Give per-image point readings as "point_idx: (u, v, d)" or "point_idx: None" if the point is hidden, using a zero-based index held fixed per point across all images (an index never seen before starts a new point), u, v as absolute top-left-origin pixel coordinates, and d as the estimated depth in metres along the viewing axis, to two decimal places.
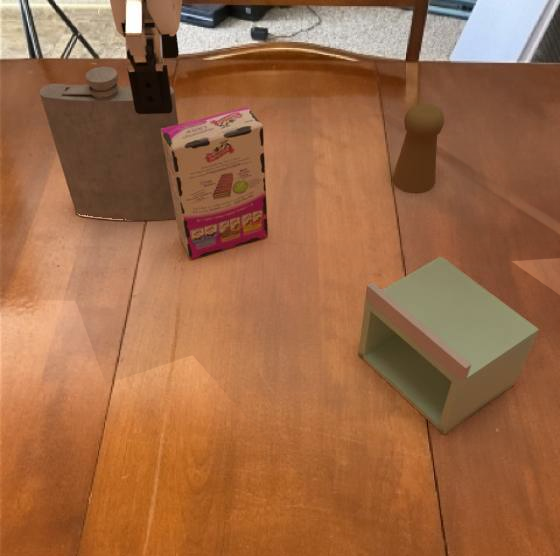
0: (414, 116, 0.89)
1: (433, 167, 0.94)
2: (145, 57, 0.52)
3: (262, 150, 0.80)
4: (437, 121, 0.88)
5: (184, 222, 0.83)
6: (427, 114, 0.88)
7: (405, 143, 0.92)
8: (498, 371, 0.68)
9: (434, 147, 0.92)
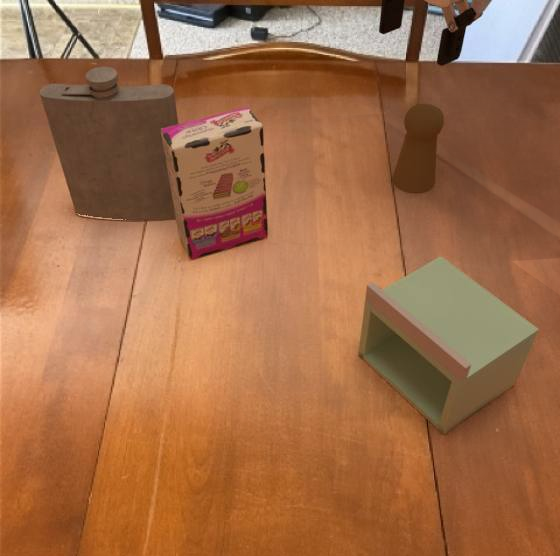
0: (414, 116, 0.89)
1: (433, 167, 0.94)
2: (479, 14, 0.72)
3: (262, 150, 0.80)
4: (437, 121, 0.88)
5: (184, 222, 0.83)
6: (427, 114, 0.88)
7: (405, 143, 0.92)
8: (498, 371, 0.68)
9: (434, 147, 0.92)
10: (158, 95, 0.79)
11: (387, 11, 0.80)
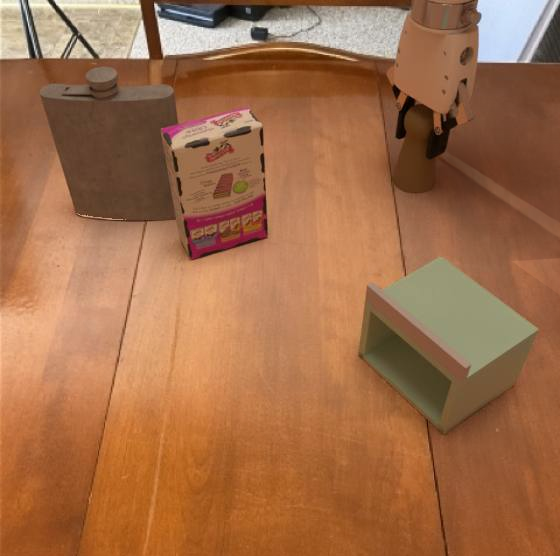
0: (414, 116, 0.89)
1: (433, 167, 0.94)
2: None
3: (262, 150, 0.80)
4: None
5: (184, 222, 0.83)
6: (427, 114, 0.88)
7: (405, 143, 0.93)
8: (498, 371, 0.68)
9: None
10: (158, 95, 0.79)
11: (403, 122, 0.92)
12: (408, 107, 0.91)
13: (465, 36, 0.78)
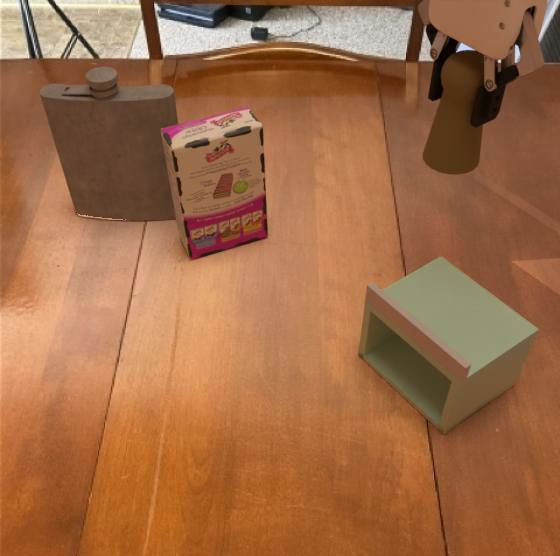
0: (456, 66, 0.64)
1: (478, 139, 0.69)
2: None
3: (262, 150, 0.80)
4: None
5: (184, 222, 0.83)
6: (474, 63, 0.64)
7: (441, 105, 0.68)
8: (498, 371, 0.68)
9: None
10: (158, 95, 0.79)
11: (439, 76, 0.67)
12: (447, 55, 0.66)
13: None
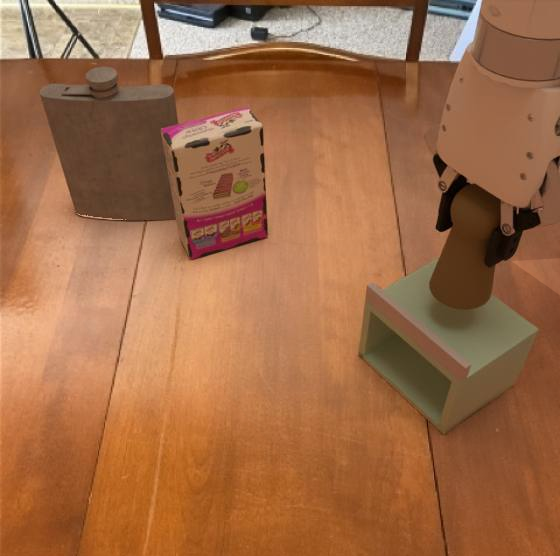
0: (468, 206, 0.57)
1: (492, 274, 0.63)
2: None
3: (262, 150, 0.80)
4: None
5: (184, 222, 0.83)
6: (489, 203, 0.57)
7: (451, 241, 0.61)
8: (498, 371, 0.68)
9: None
10: (158, 95, 0.79)
11: (448, 208, 0.61)
12: (457, 188, 0.60)
13: None
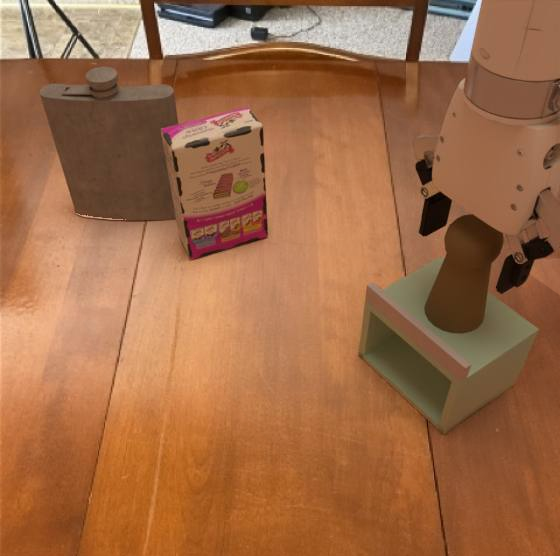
0: (461, 237, 0.60)
1: (484, 300, 0.65)
2: None
3: (262, 150, 0.80)
4: (495, 244, 0.60)
5: (184, 222, 0.83)
6: (480, 235, 0.60)
7: (445, 269, 0.64)
8: (498, 371, 0.68)
9: (487, 275, 0.63)
10: (158, 95, 0.79)
11: (430, 214, 0.63)
12: (439, 194, 0.62)
13: (554, 128, 0.49)
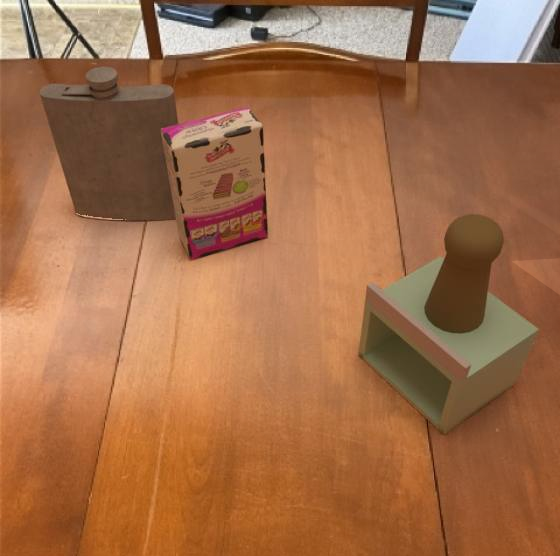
0: (461, 237, 0.60)
1: (484, 300, 0.65)
2: None
3: (262, 150, 0.80)
4: (495, 244, 0.60)
5: (184, 222, 0.83)
6: (480, 235, 0.60)
7: (445, 268, 0.64)
8: (498, 371, 0.68)
9: (487, 275, 0.63)
10: (158, 95, 0.79)
11: None
12: None
13: None
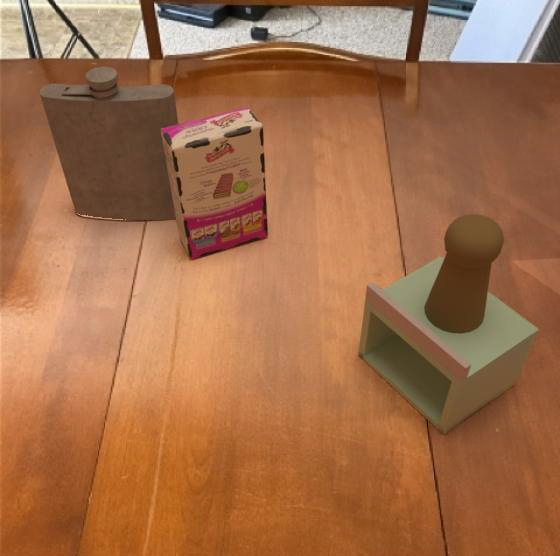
0: (461, 237, 0.60)
1: (484, 300, 0.65)
2: None
3: (262, 150, 0.80)
4: (495, 244, 0.60)
5: (184, 222, 0.83)
6: (480, 235, 0.60)
7: (445, 268, 0.64)
8: (498, 371, 0.68)
9: (487, 275, 0.63)
10: (158, 95, 0.79)
11: None
12: None
13: None
